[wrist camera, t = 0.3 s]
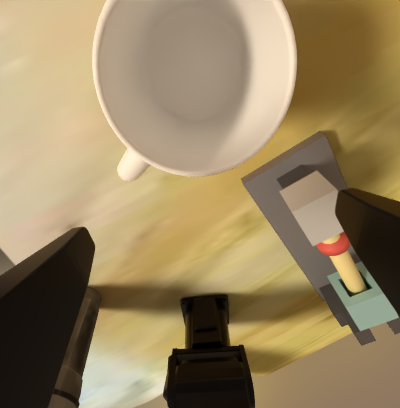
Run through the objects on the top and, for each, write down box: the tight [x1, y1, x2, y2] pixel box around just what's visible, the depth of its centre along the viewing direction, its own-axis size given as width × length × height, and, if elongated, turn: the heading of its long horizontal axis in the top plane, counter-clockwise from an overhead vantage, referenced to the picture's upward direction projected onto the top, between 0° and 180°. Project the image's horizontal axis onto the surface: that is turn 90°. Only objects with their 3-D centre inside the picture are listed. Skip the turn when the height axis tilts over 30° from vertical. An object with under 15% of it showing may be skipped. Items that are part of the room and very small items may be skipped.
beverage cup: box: [48, 287, 101, 408], centre depth 24 cm, size 7×7×20 cm
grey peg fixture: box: [241, 131, 400, 345], centre depth 25 cm, size 22×8×8 cm, turn 35°
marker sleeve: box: [327, 262, 399, 331], centre depth 25 cm, size 5×4×4 cm
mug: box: [92, 0, 297, 181], centre depth 15 cm, size 12×8×10 cm
